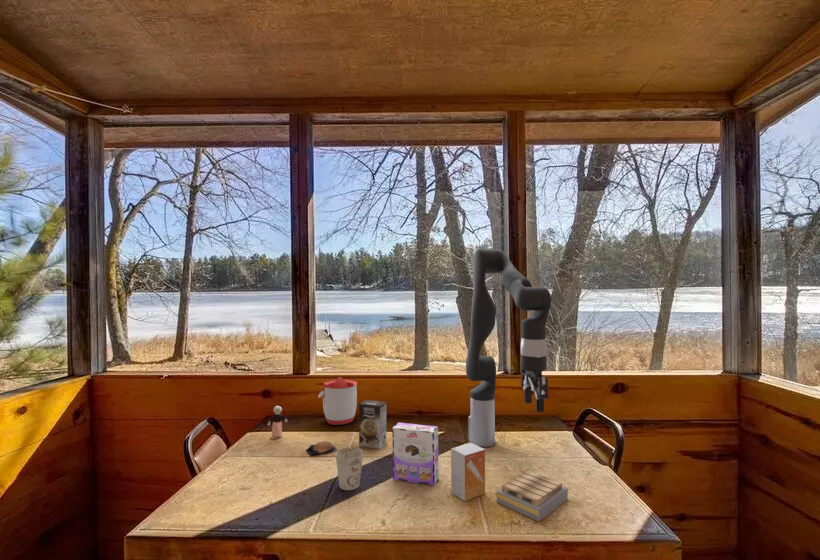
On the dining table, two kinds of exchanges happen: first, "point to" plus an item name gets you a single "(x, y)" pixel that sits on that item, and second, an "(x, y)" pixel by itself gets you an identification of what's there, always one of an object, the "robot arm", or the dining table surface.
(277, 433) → the grandmother figurine
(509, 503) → the rack
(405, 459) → the candy box
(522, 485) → the pallet
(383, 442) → the coffee box
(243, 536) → the dining table surface
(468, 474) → the small box
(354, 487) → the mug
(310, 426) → the dining table surface
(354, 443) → the dining table surface
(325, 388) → the citrus juicer
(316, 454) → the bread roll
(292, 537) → the dining table surface
